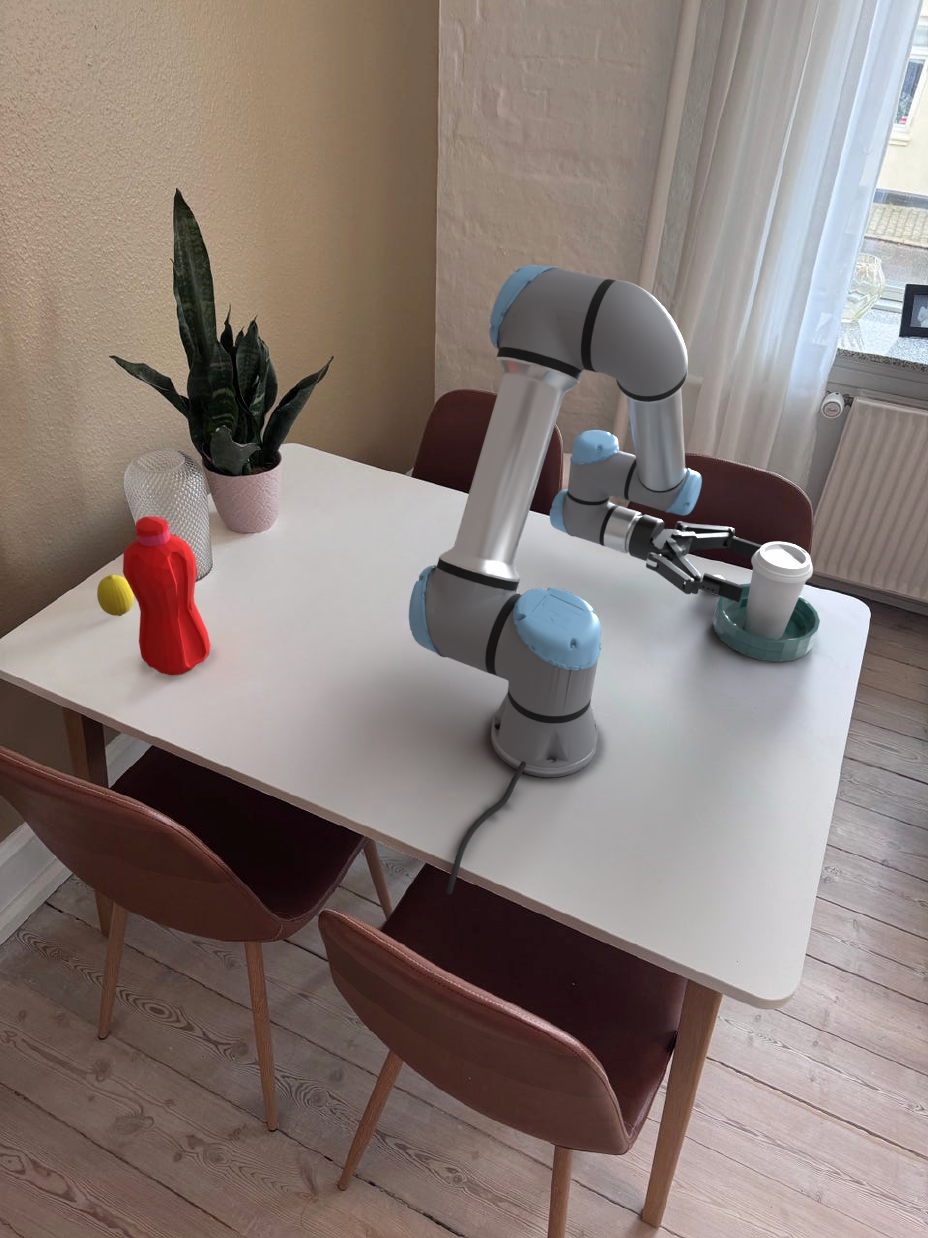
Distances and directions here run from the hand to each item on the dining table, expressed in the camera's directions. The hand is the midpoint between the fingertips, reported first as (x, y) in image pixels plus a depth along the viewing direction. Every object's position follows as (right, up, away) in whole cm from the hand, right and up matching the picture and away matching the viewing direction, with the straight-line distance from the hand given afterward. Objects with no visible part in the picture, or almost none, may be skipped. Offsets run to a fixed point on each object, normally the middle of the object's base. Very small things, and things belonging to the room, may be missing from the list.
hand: (755, 574), depth 151 cm
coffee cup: (+3, -9, +5) cm, 11 cm away
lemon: (-105, -7, +3) cm, 105 cm away
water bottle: (-92, -13, -5) cm, 93 cm away
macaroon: (-2, -2, +15) cm, 16 cm away
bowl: (+3, -10, +5) cm, 11 cm away
